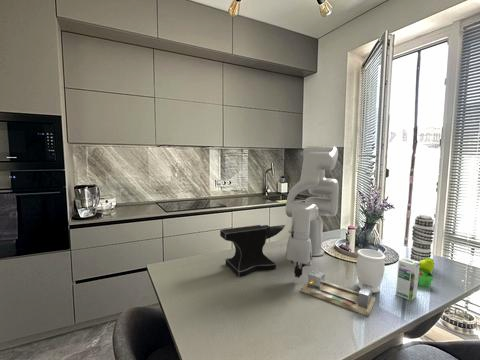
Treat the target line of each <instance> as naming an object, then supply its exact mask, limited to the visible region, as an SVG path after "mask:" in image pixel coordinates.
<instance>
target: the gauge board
mask: <svg viewBox="0 0 480 360" xmlns="http://www.w3.org/2000/svg"><path fill="white" fill-rule="evenodd" d="M324 282H325V283H328V284H331V285H334V286H337V287H340V288H343V289H346V290H349V291H352V292H355V293H358V294H359V292H360V291H356V290H353V289H350V288H346V287H344V286H341V285H337V284H335V283H332V282H328V281H325V280H324ZM307 285H308V281H307V282H306V283H304V285H302V286H301V287H300V292H302V293H305V294H308V295H310V296H312V297H316V298H318V299H322V300H324V301H327V302H328V303H332V304H334V303H335V305H338V306H339V307H342V308H345V309H349V310H351V311H354V312H356V313H358V314H359V313H360V314H362V315H365V316H366V317H369V316H370V314H371V312H372V309H373V307H374V304H375V302H376V297H375V296H372V299H371V301H370V304H369V306H368V308H367V309H365V308H363V307H360V306H358V299H359V296H357V295H354V294H351V293H348V292H345V291H342V290H339V289H336V288H333V287H330V286H327V285H324V286H323V287H322V288H321V289H322V290H324V291H327V292H330V293H333V294H336V295H339V296H342V297H344V298H347V299H350V300H353V301H356V304H354V303H353V302H350V301H348V300H345V299H342V298H339V297H336V296H334V295H331V294H328V293H325V292H322V291H319V290H317V289H314V288H313V289H312V288H309V287H307Z"/></svg>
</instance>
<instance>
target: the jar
mask: <svg viewBox="0 0 480 360" xmlns="http://www.w3.org/2000/svg"><path fill="white" fill-rule="evenodd" d="M357 255H358V256H357V258H356V276H357V279H358V282H357V286H358V288H360V289H361V288H362V286H363V285H364V284H366V285H369V286H373V287H372V294H373V293H378V292H380V290H381V288H380V286H381V284H382V282H383V278H384V274H385V270H386V267H385V260H386V254H384V253H383V252H381V251H378V250H375V249H371V248H359V249H358V250H357Z"/></svg>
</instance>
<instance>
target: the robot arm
mask: <svg viewBox="0 0 480 360" xmlns="http://www.w3.org/2000/svg"><path fill="white" fill-rule="evenodd" d="M302 154H303V161H302V167H301V173H300V180H299V181H298V182H296V183H295V184H294V185H293V186H292V187H291V189H290V190H289V193H287V199H286V203H285V210H284V212H285V215H286V216H287V217H288V218H290V219H291V229H289V230H288V233H289V234H290V235H289V236H288V239H287V244H286V251H285V257H286V260H287V261H288V262H290V263H291V264H292V265H293V267H294V269H293V270H294V277H295V278H297V279H298V278H300V277H302V275H303V268H304V267H311V266H312V258H313V257H321V256H324V255H325V250H324V249H323V247H322V246H323V245H322V244H323V229H324V221H323V219H322V218H321V216H327V217H335V216H337V213H338V210H339V194H340V193H339V191H340V185H339V181H338V180H337V179H335V178H331V177H330V178H328V177H326V176H325V175H326V171H332V170H334V169H335V167H336V164H337V160H338V158H339V151H338V148H337V147H336V146H332V145H331V146H327V145H326V146H324V145H323V146H322V145H321V146H320V145H319V146H318V145H317V146H316V145H312V146H306V147H304V149H303V151H302ZM307 190H308V192H309V194H311V195H315V196H310V197H307V198H306V199H305V201H295V199H296V197H297V195H298V194H300V193H301V192H304V191H307ZM320 196H322V197H320ZM323 196H325V197H323ZM326 196H327V197H328V198H327V197H326Z"/></svg>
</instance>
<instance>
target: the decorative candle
mask: <svg viewBox="0 0 480 360" xmlns="http://www.w3.org/2000/svg"><path fill="white" fill-rule="evenodd" d="M434 221H435V220H434V219H433V218H432V217H431V216H429V215H425V214H424V215H422V214H418V215H417V216H415V217H414V225H412V227H411V228H412V230H411V232H412V234H411V235H412V238H411V239H412V244H411V245H412V246H411V248H410V249H411V251H410V253H411V254H409V255H410V258H409V259H411V260H414V261H417V262H419V261H421V260H425V259H426V258H431V256H432V252H431V250H432V249H431V245H432V244H433V241H434V240H433V239H434V235H435V233H434V232H435V230H434Z"/></svg>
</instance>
